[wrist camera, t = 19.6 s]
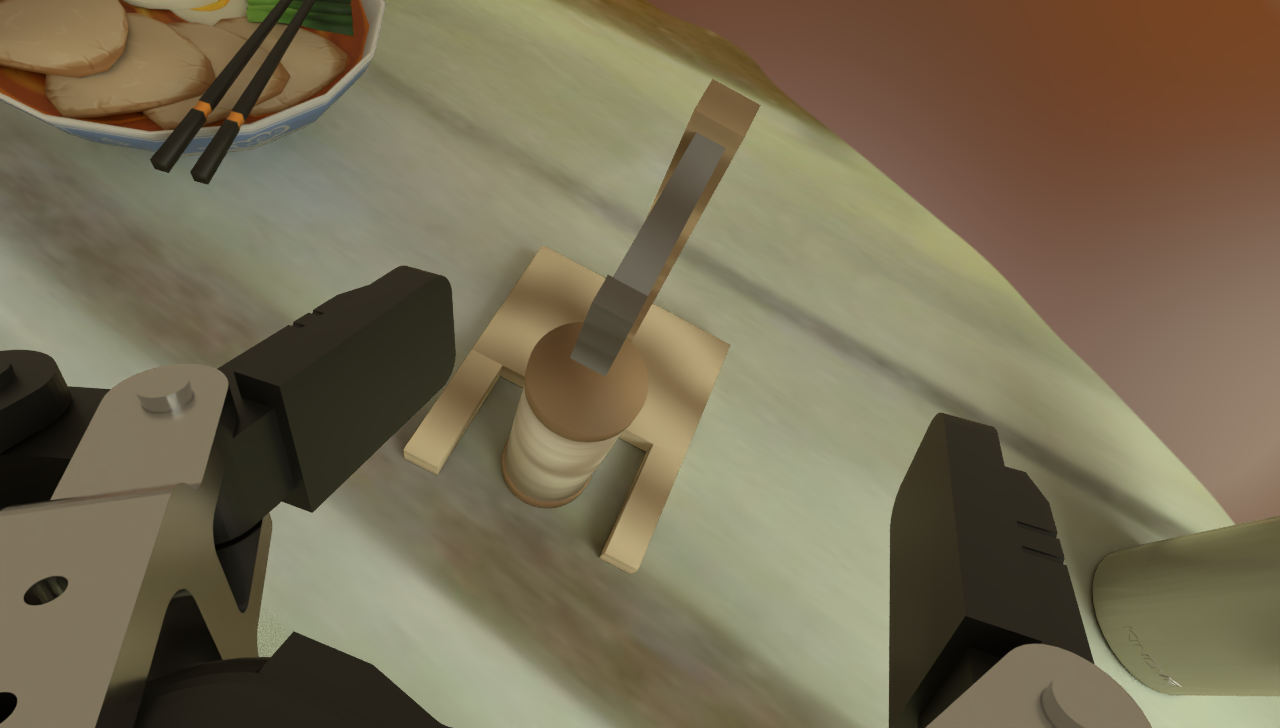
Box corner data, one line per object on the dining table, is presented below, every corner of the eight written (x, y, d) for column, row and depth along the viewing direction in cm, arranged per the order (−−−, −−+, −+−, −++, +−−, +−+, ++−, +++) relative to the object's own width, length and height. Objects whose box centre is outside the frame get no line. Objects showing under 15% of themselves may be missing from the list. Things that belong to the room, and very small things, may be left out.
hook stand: (631, 574, 36) (850, 439, 17) (404, 458, 35) (366, 182, 16) (721, 355, 44) (938, 97, 25) (539, 258, 43) (619, -81, 24)
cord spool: (560, 406, 39) (604, 304, 29) (608, 478, 38) (671, 397, 28) (484, 448, 37) (503, 353, 26) (532, 525, 36) (572, 457, 25)
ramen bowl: (126, -79, 47) (71, -215, 40) (441, 33, 50) (442, -73, 43) (-134, 164, 34) (-280, 29, 27) (307, 289, 38) (278, 198, 31)
